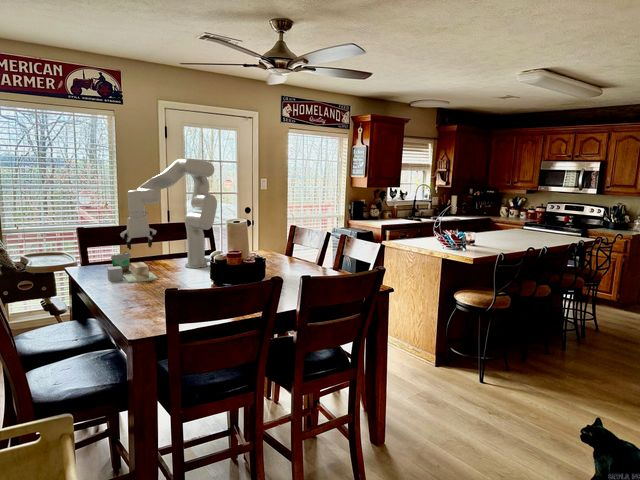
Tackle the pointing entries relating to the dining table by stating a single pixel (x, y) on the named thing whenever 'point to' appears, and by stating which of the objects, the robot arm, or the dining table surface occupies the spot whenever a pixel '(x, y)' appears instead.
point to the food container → (121, 261)
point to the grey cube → (115, 273)
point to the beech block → (139, 270)
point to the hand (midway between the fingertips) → (139, 248)
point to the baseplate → (130, 279)
